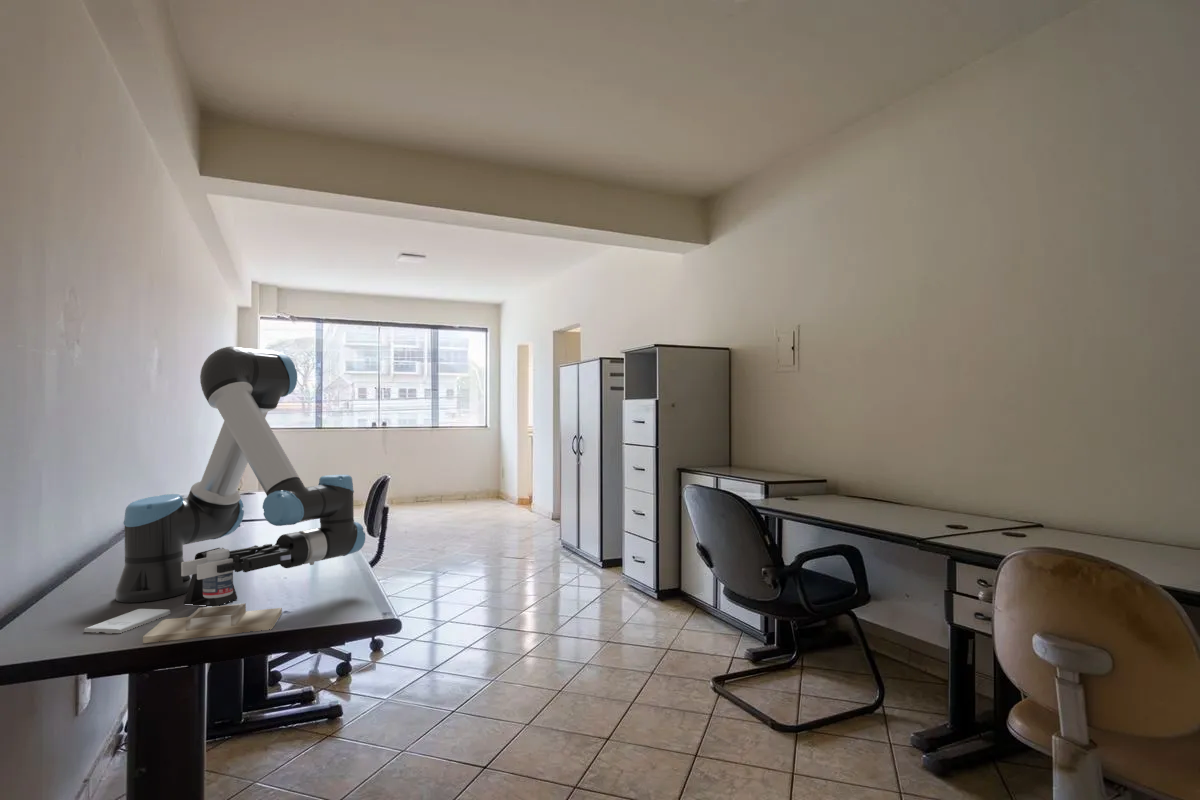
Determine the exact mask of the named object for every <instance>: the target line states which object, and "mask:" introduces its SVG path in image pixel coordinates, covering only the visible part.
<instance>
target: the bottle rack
mask: <svg viewBox="0 0 1200 800" xmlns="http://www.w3.org/2000/svg"><path fill="white" fill-rule="evenodd" d="M246 604H247V603H235V604H223V605H220V606H212V607H203V606H201V607H198V608H197V609H196V610H195V611H194V612H192V613H191V614H190V615H189V616H187V617H186V616H184V617H174V618H166V619H165V618H164V619H162V620H161V621H160V622H159V623H158V624H156V625H155V626H154V627H153V628H152V629H150V630H149V631H148V632H147V633H146V634H144V635H143V636H142V644H147V643H149V644H150V643H157V642H159V641H160V642H168V641H177V640H186V639H197V638H205V637H214V636H224V635H233V634H241V633H242V632H244V633H251V632H250V631H253V632H261V630H262V631H271V629H272V628H274V627H275V625H276V624H275V623H277V622H278V621H277V620H279V619H280V617H281V616H282V614H283V608H282V607H277V608H267V609H256V610H247V606H246ZM281 613H282V614H281ZM280 615H281V616H280ZM278 618H279V619H278ZM269 629H270V630H269ZM272 630H273V629H272Z"/></svg>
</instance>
